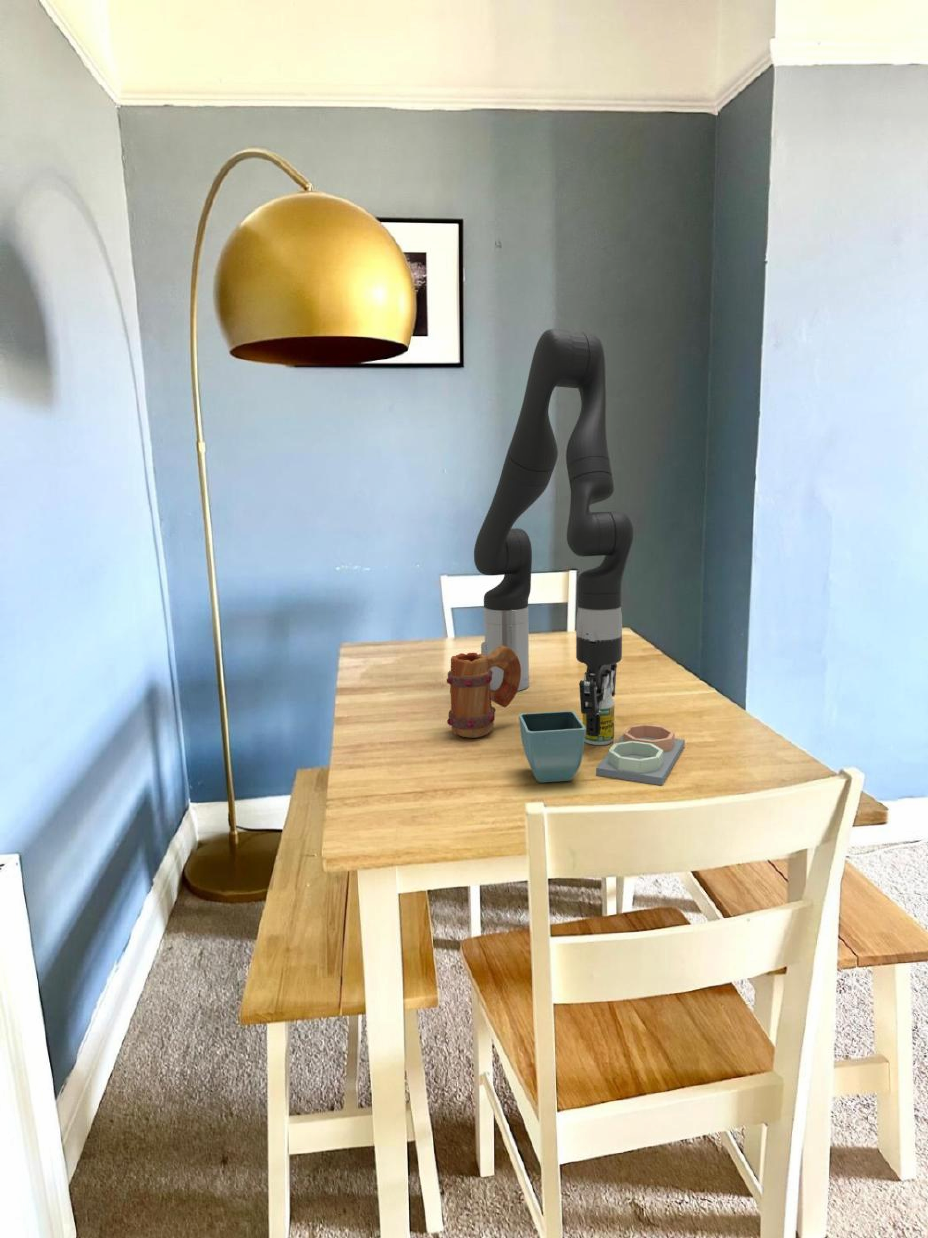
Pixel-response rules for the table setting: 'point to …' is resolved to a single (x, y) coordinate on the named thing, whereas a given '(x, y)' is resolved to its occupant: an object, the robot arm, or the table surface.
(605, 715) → the supplement bottle
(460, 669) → the mug
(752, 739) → the table surface
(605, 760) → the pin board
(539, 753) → the flower pot
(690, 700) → the table surface
